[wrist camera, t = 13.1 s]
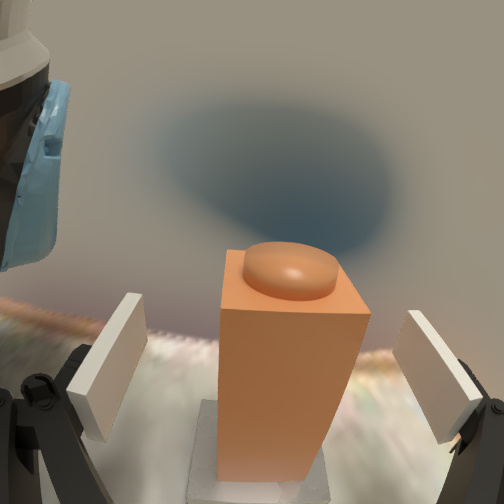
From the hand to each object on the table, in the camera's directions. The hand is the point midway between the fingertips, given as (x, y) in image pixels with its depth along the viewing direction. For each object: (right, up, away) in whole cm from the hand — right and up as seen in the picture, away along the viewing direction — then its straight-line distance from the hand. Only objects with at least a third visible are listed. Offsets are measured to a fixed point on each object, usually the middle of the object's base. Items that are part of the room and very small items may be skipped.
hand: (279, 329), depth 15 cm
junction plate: (-1, -10, +3) cm, 10 cm away
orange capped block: (-1, -8, +2) cm, 9 cm away
